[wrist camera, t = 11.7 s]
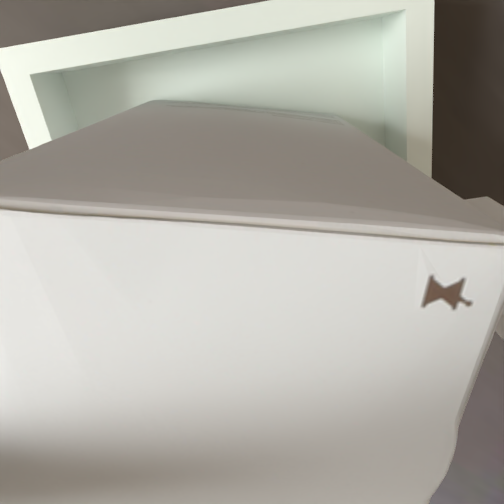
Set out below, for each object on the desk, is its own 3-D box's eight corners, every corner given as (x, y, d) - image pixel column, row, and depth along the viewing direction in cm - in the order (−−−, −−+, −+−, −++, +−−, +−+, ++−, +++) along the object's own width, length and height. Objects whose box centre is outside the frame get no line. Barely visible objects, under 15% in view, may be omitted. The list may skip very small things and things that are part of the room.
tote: (42, 52, 19) (-7, 49, 16) (398, -11, 18) (435, -29, 15) (134, 341, 26) (115, 387, 22) (402, 306, 25) (428, 347, 21)
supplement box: (144, 94, 19) (-125, 171, 5) (342, 112, 19) (562, 229, 6) (146, 274, 23) (-11, 593, 9) (312, 287, 23) (404, 613, 9)
